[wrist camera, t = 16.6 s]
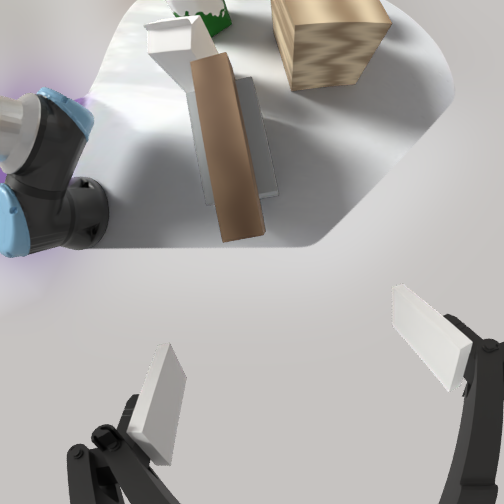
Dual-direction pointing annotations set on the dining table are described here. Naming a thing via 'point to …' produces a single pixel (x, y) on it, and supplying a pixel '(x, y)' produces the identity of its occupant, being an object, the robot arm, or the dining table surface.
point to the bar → (227, 149)
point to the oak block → (327, 39)
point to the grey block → (254, 136)
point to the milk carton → (203, 12)
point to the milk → (179, 46)
